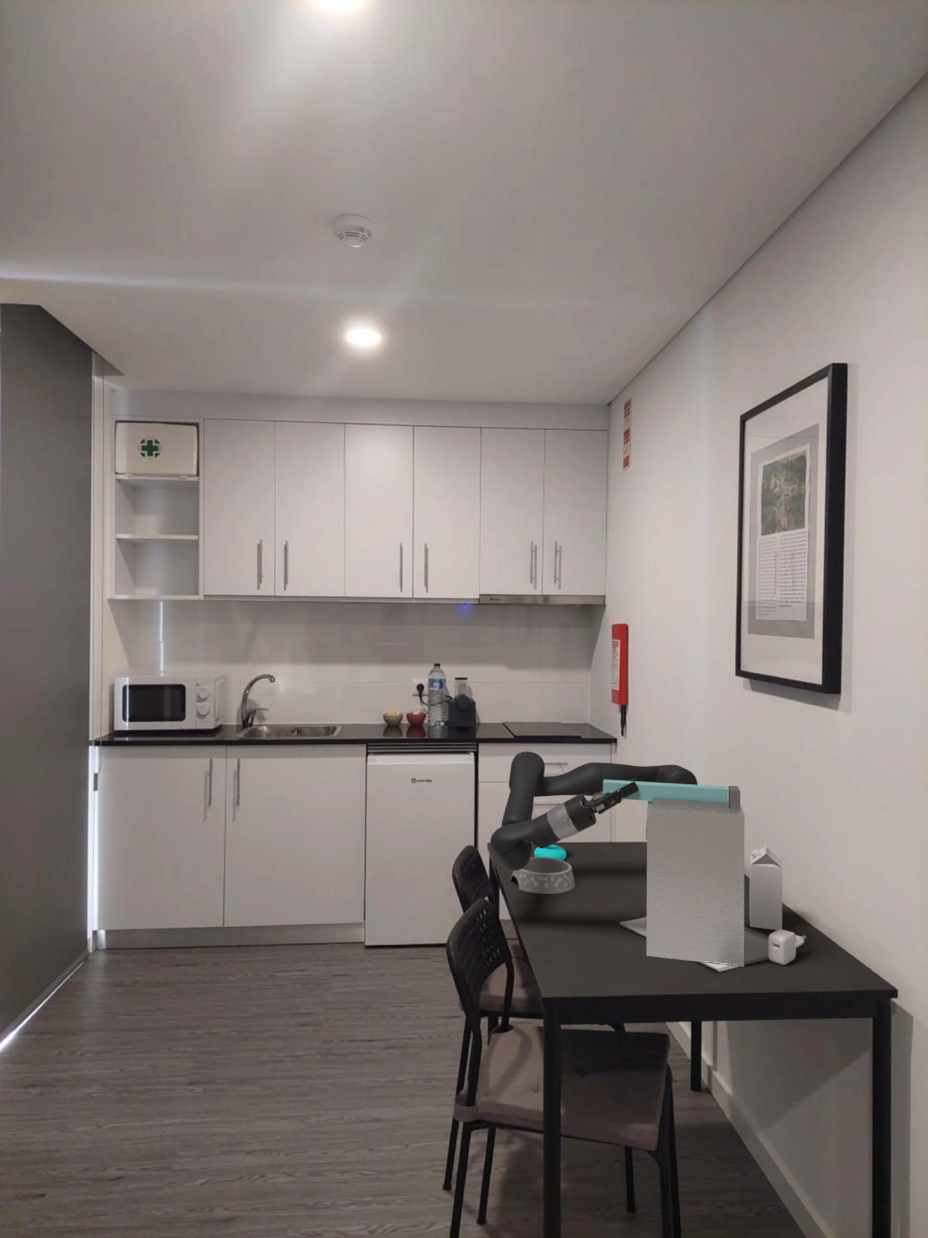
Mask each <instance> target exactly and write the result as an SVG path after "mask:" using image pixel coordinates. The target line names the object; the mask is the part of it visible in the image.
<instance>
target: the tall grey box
mask: <svg viewBox="0 0 928 1238" xmlns="http://www.w3.org/2000/svg"><path fill="white" fill-rule="evenodd" d="M727 789H728V803H721V802H705V801H688V800H672V799H656V798H652V801H647V806H646V807H647V808H646V809H647V813H646V816H647V817H646V825H645V840H646V953H645V954H646V957H655V958H663V959H671V960H672V959H673V960H679V961H680V960H681V961H688V962H697V963H699V962H700V963H702V962H701V961H710V962H719V963H728V964H729V963H730V964H737V965H739V966H738V967H745V812H744V809H743V808H742V804H741V789H740V788H739V785H737V786H736V785H728V786H727Z"/></svg>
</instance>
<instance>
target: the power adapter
mask: <svg viewBox="0 0 928 1238" xmlns="http://www.w3.org/2000/svg"><path fill="white" fill-rule="evenodd" d="M767 938H768V942H767V943H768V944H767V946H768V947H767V952H768V953H767V956H768V959H769V961H770V962H773V963H775V964H777V965H779V964H780V965H782V966H785V965H788V964H790V963H791V962H793V961H794V960H795V959H796V955H797V948H799V947H800V946H802V945H804V943H805V939H807V936H806V935H802V936H800V935H797V934H795V932H794V931H789V930H786V929H783V928H782V929H779V930H774V931H773V932H772V933H769V936H768V937H767Z"/></svg>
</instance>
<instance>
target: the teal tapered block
mask: <svg viewBox="0 0 928 1238" xmlns="http://www.w3.org/2000/svg"><path fill="white" fill-rule="evenodd" d="M631 782H635V783H636V785H637V786H638V788H639V790H638V791H637V792H635V793H633V794H631V795H629V796H627V797H624V799H623V800H631V801H647V802H648V801H652V798H656V799H672V800H688V801H705V802H721V803H728V786H725V785H724V786H722V785H709V784H708V785H706V784H705V785H704V784H698V785H691V784H673V783H656V782H638V781H621V780H604V781H603V794H604V793H606V792H608V791H610V792H613V791H615V790H616V789H620V788H622V787H624V786H626V785H628V784H629V783H631ZM606 797H607V796H606Z"/></svg>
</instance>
